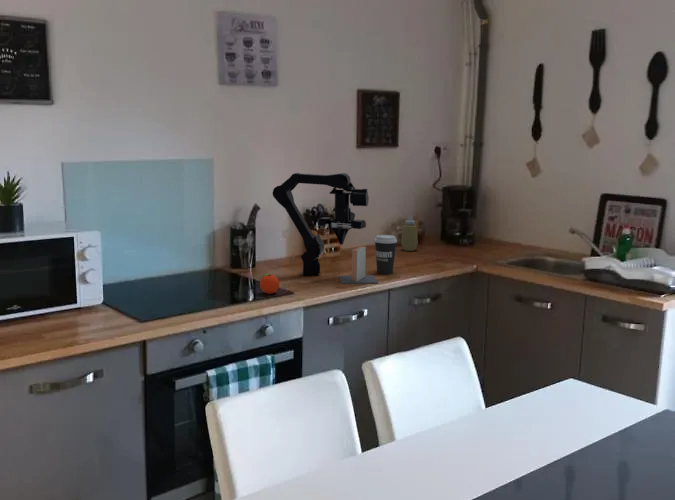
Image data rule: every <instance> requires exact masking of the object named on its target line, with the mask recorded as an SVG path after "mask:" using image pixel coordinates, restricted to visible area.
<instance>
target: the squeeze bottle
mask: <svg viewBox="0 0 675 500" xmlns="http://www.w3.org/2000/svg"><path fill="white" fill-rule="evenodd" d="M400 239H401V240H400V244H401V246H402V247H401V248H402V250H403V251H405V252H414V251H416V249H417V247H418V244H419V241H418V226H417V225H416V220H414V219H413V214H412V213H411V212H409V214H408V215H407V220H405V222H404V225H403V226H402V233H401V238H400Z"/></svg>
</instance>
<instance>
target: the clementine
mask: <svg viewBox="0 0 675 500" xmlns="http://www.w3.org/2000/svg"><path fill="white" fill-rule="evenodd" d="M259 281H260V282H259V286H260V289H261V291H263V293H265V294H267V295H268V294H269V295H270V294H271V295H272V294H274V293H276V292H277V291H278V289H279V287H280V281H279V278H278V277H276V275H274V274H270V273H267V274H263V275H262V276H261V278H260V280H259Z"/></svg>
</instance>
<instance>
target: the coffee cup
mask: <svg viewBox="0 0 675 500" xmlns="http://www.w3.org/2000/svg"><path fill="white" fill-rule="evenodd" d="M397 239H398V238H397V237H396V236H395V235H392V234H378V235H376V236H375V238H374V240H373V242H374V244H375V261H376V262H375V264H376V272H377V273H378V274H384V275H388V274H389V275H390V274H393V273H394V264H395V255H396V247H397V246H396V245H397V243H398V240H397Z"/></svg>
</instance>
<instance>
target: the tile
mask: <svg viewBox="0 0 675 500" xmlns="http://www.w3.org/2000/svg"><path fill="white" fill-rule="evenodd" d="M366 250H367V247H366V246H359V247H356V248H353V249H351V276H352V280H353V281H358V280H360V279H362V278H364V277H365V275H366V258H367V257H366V254H367V251H366Z"/></svg>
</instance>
